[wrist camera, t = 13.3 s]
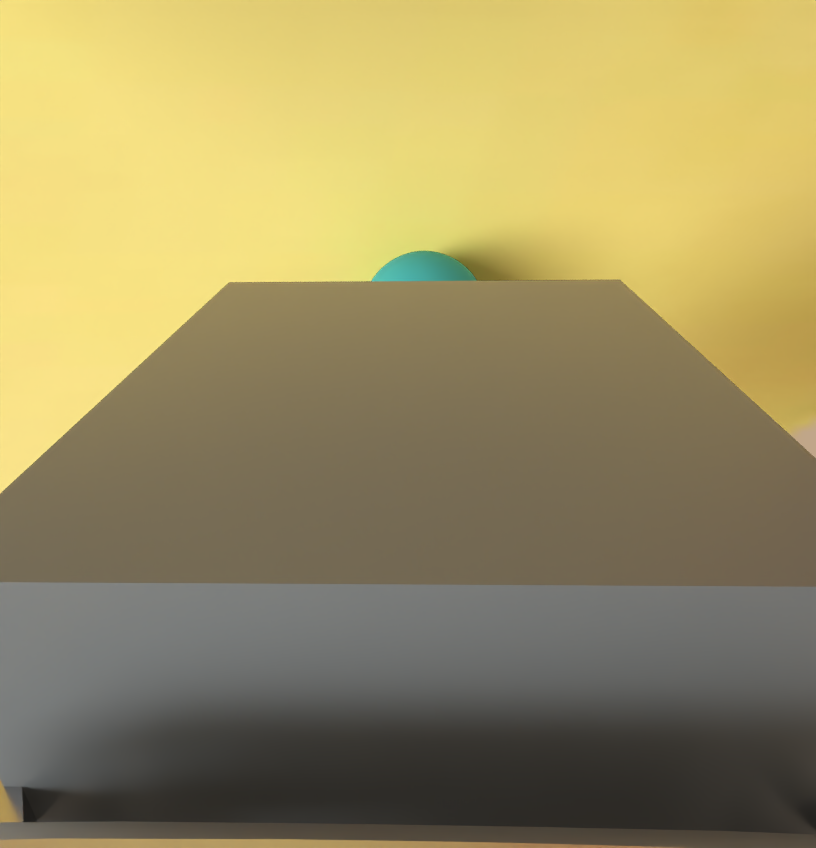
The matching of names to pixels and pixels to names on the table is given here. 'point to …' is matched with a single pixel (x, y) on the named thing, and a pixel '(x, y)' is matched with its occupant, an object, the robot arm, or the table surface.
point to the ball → (424, 268)
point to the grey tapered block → (416, 574)
